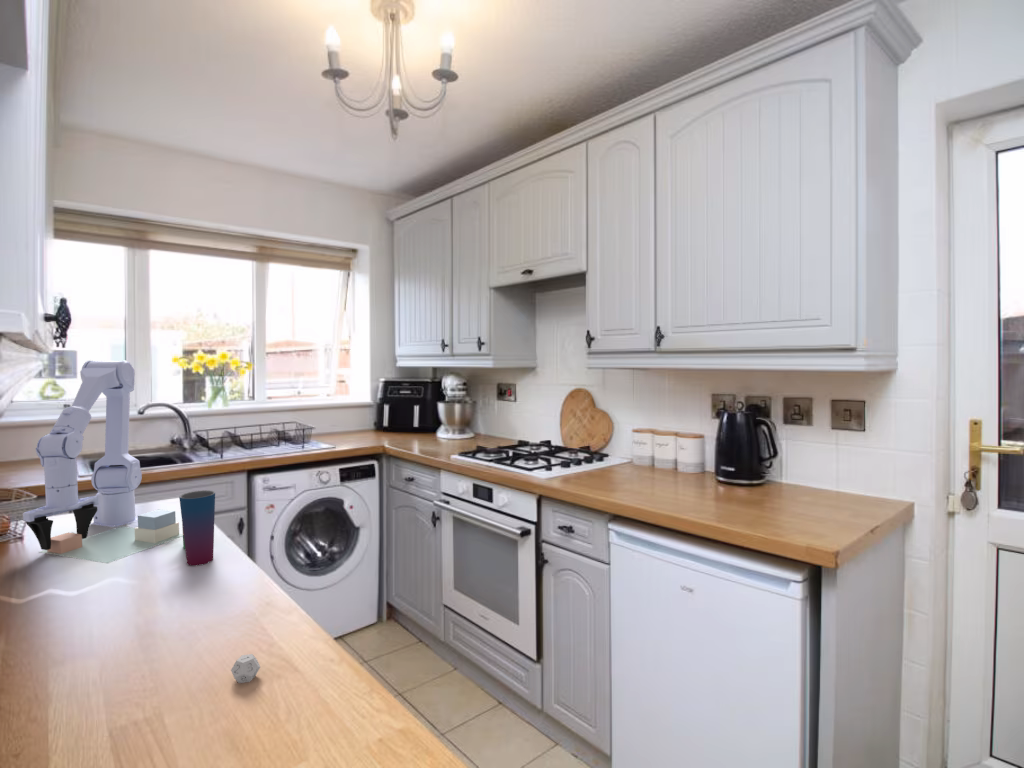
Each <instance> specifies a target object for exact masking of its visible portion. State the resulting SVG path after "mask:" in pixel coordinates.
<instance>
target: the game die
mask: <svg viewBox="0 0 1024 768" xmlns="http://www.w3.org/2000/svg"><path fill="white" fill-rule="evenodd" d="M260 669H261V666H260V663H259V661H258V659H257V657H255V656H254V654H253V653H250V654H248V653H247V654H242V655H241V656H240V657H238V659H236V660H235V662H234V664H233V665H232V668H231V669H230V671H231V674H232V676H233V677H234V679H235V681H236V682H237V683H238V684H244V683H250V682H252V680H253V679H254V678H255V677H256V675H257V674H258V672H259V670H260Z"/></svg>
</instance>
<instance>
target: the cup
mask: <svg viewBox="0 0 1024 768" xmlns="http://www.w3.org/2000/svg"><path fill="white" fill-rule="evenodd" d="M178 498H179V505H180V516H181V523H182V524H181V525H183V528H182V534H183V533H184V542H185V549H184V550H185V557H186V558H185V560H186V564H187V565H188V566H190V567H191V566H194V567H196V565H197V566H202V564H203V565H207V564H209V563H210V562H212V561H214V547H215V539H214V538H215V514H216V513H215V512H216V511H215V510H216V491H215V490H211V489H207V490H195V491H194V490H193V491H189V492H185V493H182V494H180V495H179V497H178ZM208 562H209V563H208Z"/></svg>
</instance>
